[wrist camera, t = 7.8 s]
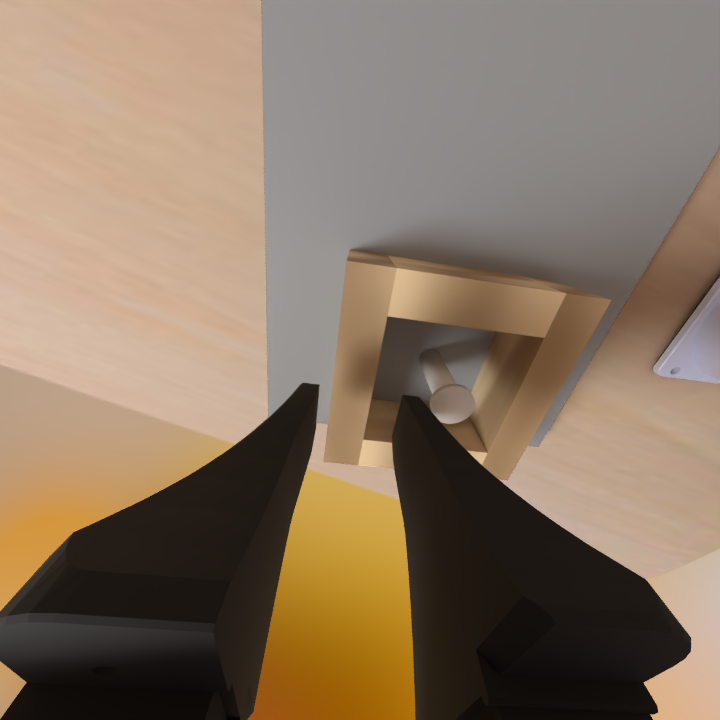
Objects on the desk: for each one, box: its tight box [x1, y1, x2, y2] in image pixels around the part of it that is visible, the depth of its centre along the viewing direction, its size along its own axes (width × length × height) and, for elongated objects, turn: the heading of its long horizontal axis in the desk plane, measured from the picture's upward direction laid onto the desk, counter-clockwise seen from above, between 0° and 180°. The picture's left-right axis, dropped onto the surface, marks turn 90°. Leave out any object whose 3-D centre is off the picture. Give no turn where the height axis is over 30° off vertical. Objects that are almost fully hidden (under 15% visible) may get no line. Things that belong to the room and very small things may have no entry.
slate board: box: [261, 0, 720, 447], centre depth 11 cm, size 18×22×6 cm
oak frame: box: [324, 250, 611, 480], centre depth 14 cm, size 10×10×4 cm
